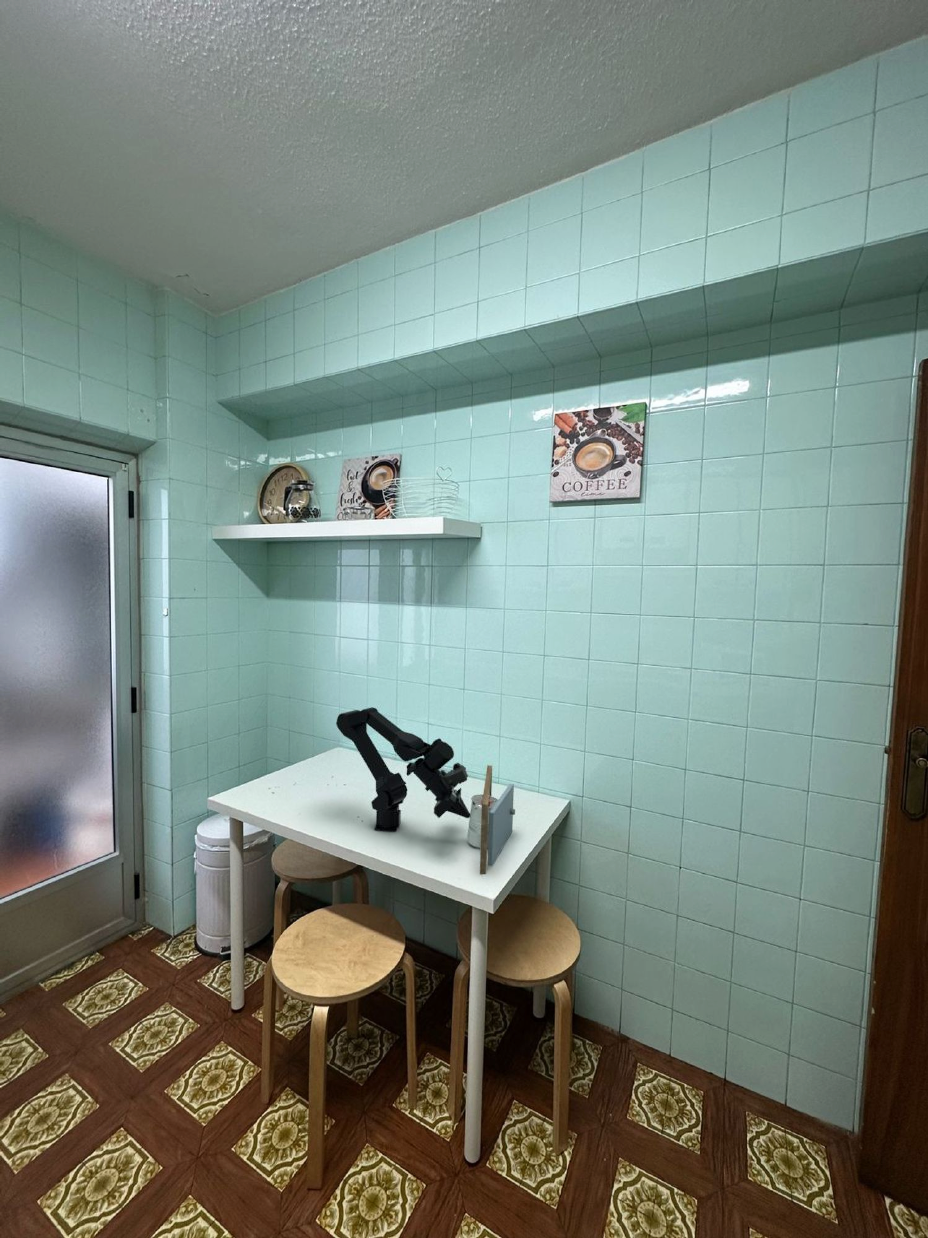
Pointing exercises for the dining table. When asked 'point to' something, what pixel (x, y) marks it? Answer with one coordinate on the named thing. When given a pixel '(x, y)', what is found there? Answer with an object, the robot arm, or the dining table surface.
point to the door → (500, 823)
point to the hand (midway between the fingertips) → (469, 817)
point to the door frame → (485, 819)
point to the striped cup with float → (478, 819)
